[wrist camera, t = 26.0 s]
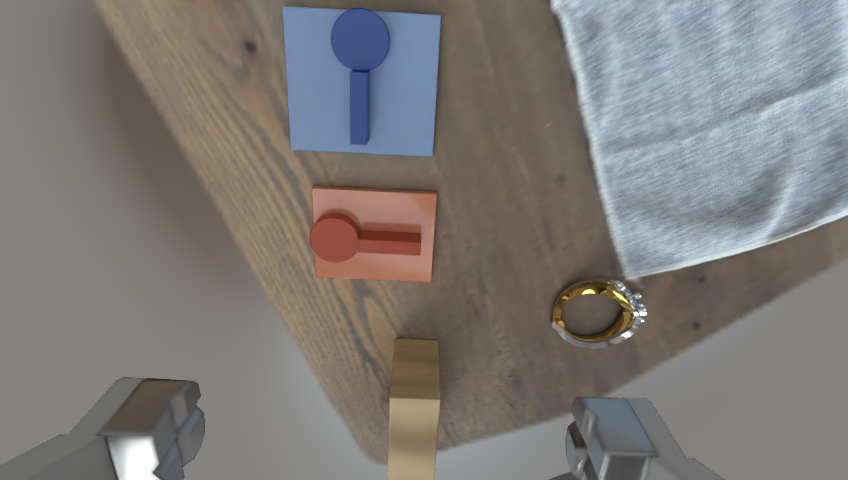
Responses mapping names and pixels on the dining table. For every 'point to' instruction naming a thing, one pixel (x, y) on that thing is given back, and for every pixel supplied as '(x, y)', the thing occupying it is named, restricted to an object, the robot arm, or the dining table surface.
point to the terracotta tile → (380, 214)
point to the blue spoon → (360, 62)
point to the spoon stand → (414, 410)
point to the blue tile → (389, 84)
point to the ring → (617, 330)
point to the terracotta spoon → (357, 240)
